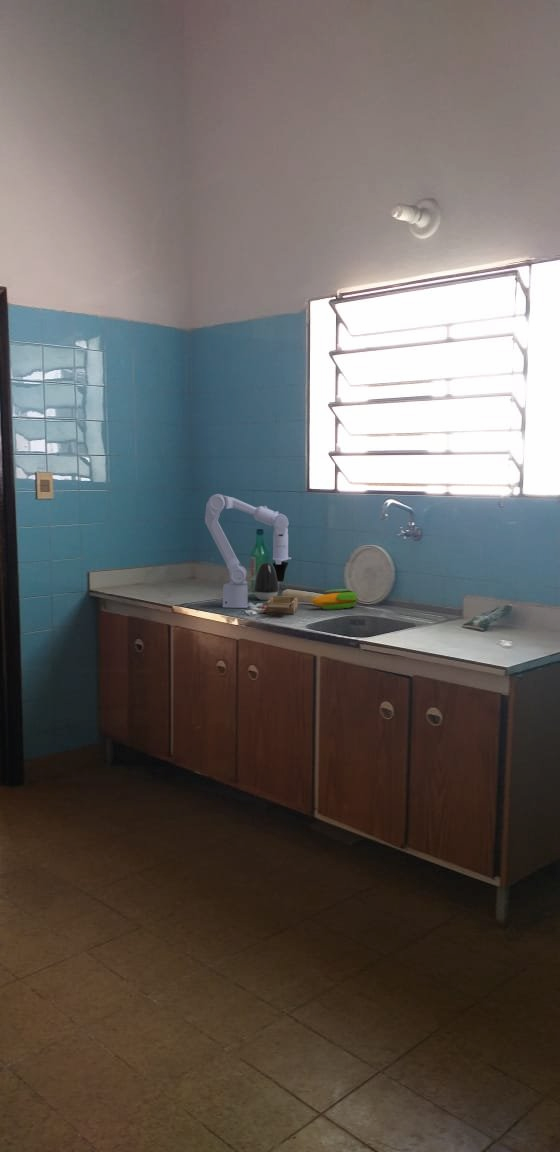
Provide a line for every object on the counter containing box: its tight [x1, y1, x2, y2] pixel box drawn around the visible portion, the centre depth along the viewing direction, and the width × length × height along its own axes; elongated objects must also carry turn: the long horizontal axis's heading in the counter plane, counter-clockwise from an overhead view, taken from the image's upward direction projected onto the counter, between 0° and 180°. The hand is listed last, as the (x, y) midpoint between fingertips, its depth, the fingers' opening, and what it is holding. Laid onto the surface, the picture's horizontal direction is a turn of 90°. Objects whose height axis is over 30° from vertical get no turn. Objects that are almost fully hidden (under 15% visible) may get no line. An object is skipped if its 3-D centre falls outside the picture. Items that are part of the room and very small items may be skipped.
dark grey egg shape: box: [253, 561, 280, 601], centre depth 371 cm, size 10×10×15 cm
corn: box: [311, 588, 359, 611], centre depth 348 cm, size 7×8×20 cm
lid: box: [267, 595, 291, 609], centre depth 333 cm, size 14×7×3 cm, turn 173°
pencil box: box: [265, 596, 299, 616], centre depth 342 cm, size 16×10×4 cm, turn 173°
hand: (280, 581), depth 351 cm, fingers closed
